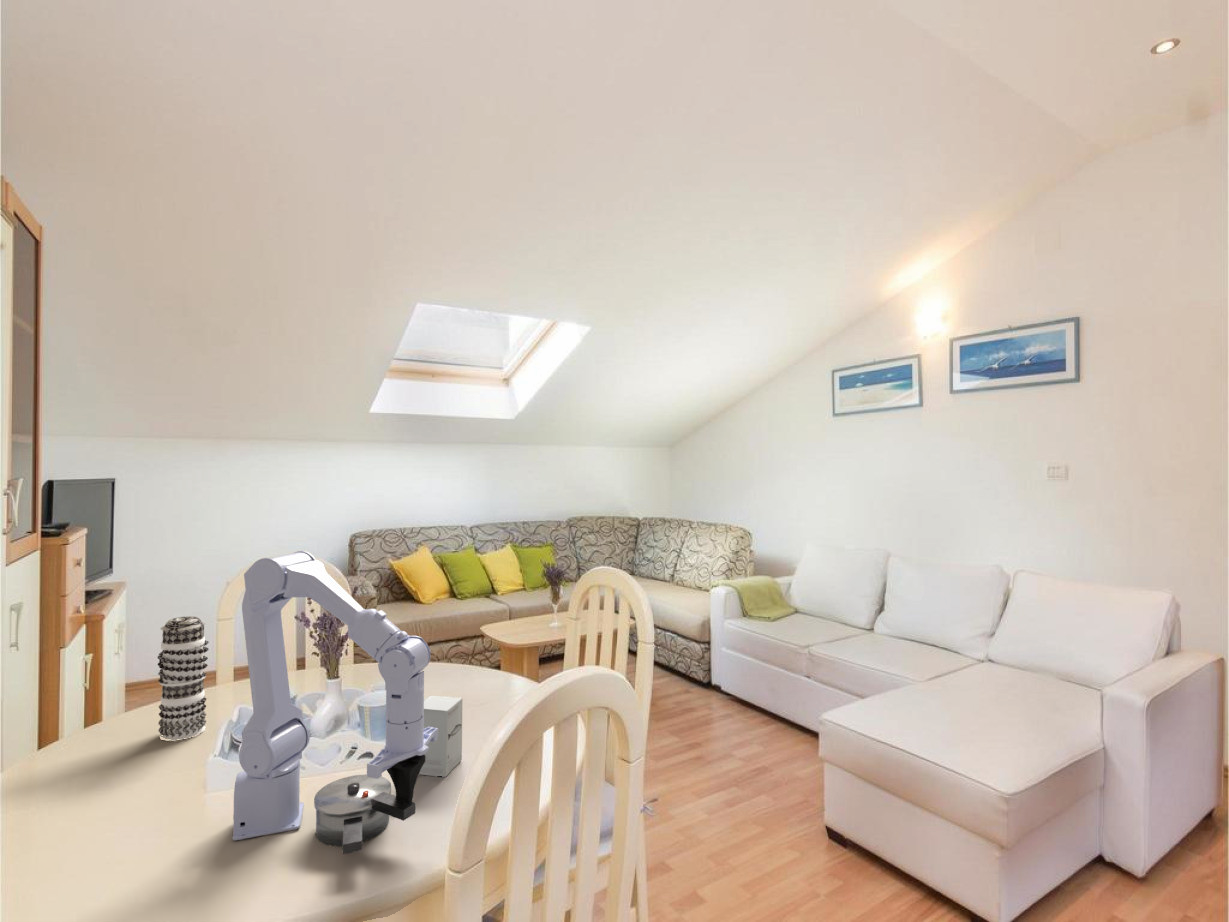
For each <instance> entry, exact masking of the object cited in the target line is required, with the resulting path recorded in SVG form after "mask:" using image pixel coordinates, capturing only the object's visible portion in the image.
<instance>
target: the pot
mask: <svg viewBox="0 0 1229 922" xmlns="http://www.w3.org/2000/svg"><path fill="white" fill-rule="evenodd" d="M315 815H316V816H315V835H316V837H315V838H316V839H317V841H319V843H322V844H323V845H326V846H329V845H331V847H342V855H346V854H347V855H348V854H351V853H357V852H361V851H362V852H363V843H365V842H367V841H370V840H372V839H374V838H376V837H377V836H379V835H380V834H382V833H383V832H384V831H385V830H386V828H387V827H388V825H389V824H390V815H387V814H384V813H381V812H379V811H376V810H373V809H371V810H369V811H366V812H363V813H359V814H355V815H350V816H329V815H325V814H322V813H320V812H318V811H317V810H316V809H315Z"/></svg>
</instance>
